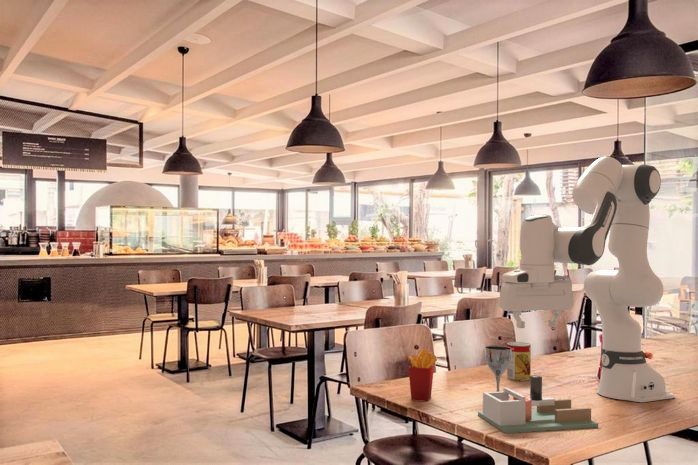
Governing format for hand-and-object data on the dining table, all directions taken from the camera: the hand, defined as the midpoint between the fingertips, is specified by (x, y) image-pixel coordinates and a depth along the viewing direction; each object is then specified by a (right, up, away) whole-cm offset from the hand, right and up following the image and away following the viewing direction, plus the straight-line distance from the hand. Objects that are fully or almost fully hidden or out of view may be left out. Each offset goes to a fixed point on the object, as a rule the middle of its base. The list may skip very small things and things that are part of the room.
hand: (536, 327), depth 163 cm
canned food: (+9, -26, +51) cm, 58 cm away
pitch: (0, -25, 0) cm, 25 cm away
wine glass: (-4, -25, +25) cm, 36 cm away
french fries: (-27, -25, +22) cm, 43 cm away
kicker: (0, -24, 0) cm, 24 cm away
